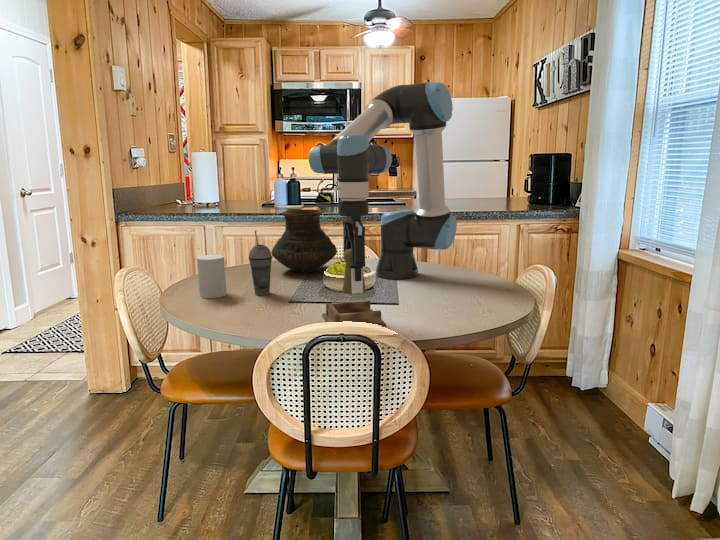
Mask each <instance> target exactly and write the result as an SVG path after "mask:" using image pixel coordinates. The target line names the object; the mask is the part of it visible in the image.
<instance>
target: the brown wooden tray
mask: <svg viewBox="0 0 720 540" xmlns="http://www.w3.org/2000/svg"><path fill="white" fill-rule="evenodd" d="M321 316H322V318H323V320H324V322H325V323H326V322H343V321H352V322H366V323H372V324H378V325H382V326H381V327H386V326H387V323H386V322H385V321H384V320H383V319H382V311H381V310H373V309H371V300H370V299H366V300H352V301H340V302H339V301H338V302H328V303H327V302H326V303H325V313H323V312H322V313H321Z"/></svg>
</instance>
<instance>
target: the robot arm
mask: <svg viewBox="0 0 720 540" xmlns="http://www.w3.org/2000/svg"><path fill="white" fill-rule="evenodd" d="M453 109H454V107H453V100H452V96H451V91H449V88H448V87H447V85H446V84H444V83H443V82H439V81H438V82H435V81H434V82H431V81H428V82H420V83H414V84H413V83H411V84H399V85H395V86H392V87H390V88H387V89H386V90H384V91H382V92H380V93H379V94H377V95H376V96H375V97H373V99H371V100H370V101H369V102H368V103H367V104H366V106H365V109H364V111H363V112H362V113H360V114H359V115H358V116H357V117H356V118H355V119H354V120H353V121H352V122H350V123H349V124H348V125H347V126H346V127H345V128H344V129H342V130H341V131H340V132H339V133H338V134H337V135H336V136H335V137H333V138H332V140H331V141H329V142H328V143H327V144H325V145H322V144H320V145H316V146H315V145H314V146H313V147H311V149H310V151H309V153H308V163H309V167H310V169H311V170H312V172H314V174H315V173H316V174H323V175H328V174H329V175H331V174H333V175H336V174H337V182H338V183H337V185H336V186H335V190H337V191H338V192H337V194H338V195H337V196H338V198H339V199H340V200H338V201H337V210H338V212H337V213H338V215H339V216H341V217H346V218H345V220H344V221H342V226H343V237H342V238H343V253H344V252H345V250H347V249H351V251H352V264H353V265H352V266H350V269H351V274H352V294H351V295H357V294H356V293H361V294H364V293H363V274H364V270H363V269H364V268H365V267H366V247H365V246H366V243H365V241H366V237H365V235H366V227H365V226H364V223H363V222H362V217H364V216H368V215H369V201H368V200H367V198H368V199H369V193H370V191H369V190H370V189H369V188H370V187H369V175H380V174H383V173H385V172H387V171H388V170H389V169H390V167H391V165H392V163H393V156H392V153H391V151H390V149H389V148H388V147H386V146H385V145H381V144H378V143H377V144H370V143H369V142H370V141H371V140H372V139H373V138H374V137H375V136H376V135H377V134H378V133H379V132H380V131H381V130H385V129H387V128H389V127H390V126H391V125H396V124H409V131H410V132H411V133H413V135H414V144H415V157H416V159H415V160H416V175H417V176H416V177H417V188H418V189H417V193H418V204H419V205H418V208H417V209H416V210H415V211H414V209H403V210H394V211H388V212H384V213H383V214H381V217H380V255H379V258H378V262H377V265H376V268H375V275H376V276H377V277H378V278H383V279H387V280H405V279H406V280H407V279H412V278H415V277H418V276H419V269H418V268H419V267H418V265H417V262H416V261H417V260H416V259H415V255H414V248H415V249H427V250H435V251H437V250H441V251H442V250H444V251H445V250H448V249H449V248H450V247H451V246H452V244H453V242H454V240H455V238H456V237H455V236H456V233H457V226H458V225H457V224H458V220H457V218H456V216H454V215H451V209H450V208H449V207H448V206H447V205H446V196H445V194H446V193H445V175H444V174H445V172H444V170H445V169H444V153H443V151H444V149H443V131H444V130H445V129H446V127H447V122H449V121H450V120H451V119H452V116H453ZM342 256H343V255H342ZM343 258H344V256H343Z"/></svg>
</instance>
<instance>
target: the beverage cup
mask: <svg viewBox="0 0 720 540" xmlns="http://www.w3.org/2000/svg"><path fill="white" fill-rule="evenodd" d="M257 233H258V232H257V230H256V229H255V230H254V236H255V240H256V241H255V242H256V245H254V246H253V247H251V249H250V250H249V253H248V261H249V265H250V270H251V275H252V276H251V277H252V285H253V289H254V294H255V295H256V296H266V295H269V294H270V291H271V290H270V289H271V271H272V270H271V269H272V259H273V256H272V253H271V249H270V248H269V247H268V246H266V245H265V244H259V240H258V234H257Z"/></svg>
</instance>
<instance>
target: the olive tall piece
mask: <svg viewBox="0 0 720 540" xmlns="http://www.w3.org/2000/svg"><path fill="white" fill-rule="evenodd" d="M342 256H344V257H343V260H344V261H345V262H344V263H345V267H344V274H343V275H344V276H343V281H342V282H343V283H342V284H343V285H342V291H341V292H342V293H344V294H347V295H353V294H352V274H351V269H350V266H352V265H353V264H352V251H351V249H347V250H345V252H344V251H343V255H342ZM365 284H366V283H365V277H364V273H363V293H356V294H355V295H360V294H365V293H366V285H365Z"/></svg>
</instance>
